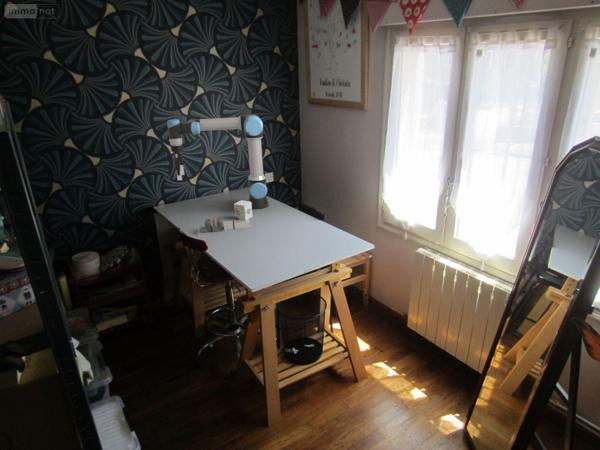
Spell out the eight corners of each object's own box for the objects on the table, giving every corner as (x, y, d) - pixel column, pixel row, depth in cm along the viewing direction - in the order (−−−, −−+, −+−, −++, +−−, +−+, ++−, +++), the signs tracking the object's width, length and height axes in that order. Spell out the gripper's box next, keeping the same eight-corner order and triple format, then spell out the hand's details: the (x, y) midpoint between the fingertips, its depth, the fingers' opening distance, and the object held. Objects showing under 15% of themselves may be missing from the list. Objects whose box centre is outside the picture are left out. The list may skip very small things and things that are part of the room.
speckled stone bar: (250, 225, 260) (249, 218, 258) (250, 227, 256) (249, 221, 255) (224, 227, 258) (223, 221, 256) (224, 229, 254) (223, 223, 252)
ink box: (234, 220, 272) (233, 203, 268) (242, 216, 279) (240, 199, 275) (245, 222, 268) (244, 205, 264) (253, 218, 275) (251, 201, 271)
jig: (252, 225, 263) (251, 211, 259) (253, 230, 254) (252, 216, 251) (201, 229, 259) (199, 215, 255) (200, 235, 250) (198, 221, 247)
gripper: (172, 141, 274) (177, 173, 281) (167, 148, 251) (172, 182, 258) (184, 141, 274) (188, 172, 282) (180, 148, 251) (184, 181, 259)
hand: (181, 177), depth 270 cm, fingers open, 13 cm apart
